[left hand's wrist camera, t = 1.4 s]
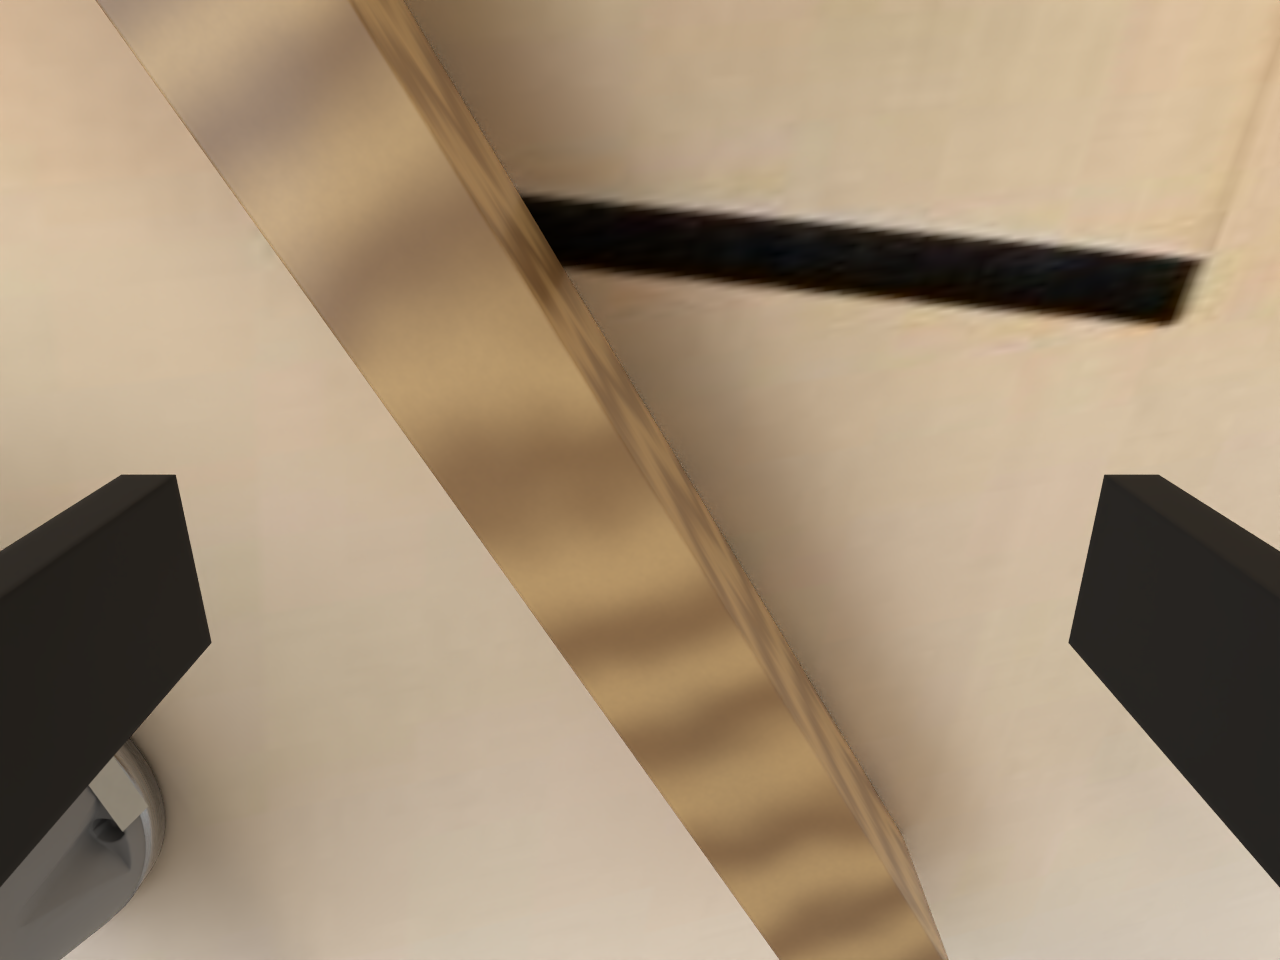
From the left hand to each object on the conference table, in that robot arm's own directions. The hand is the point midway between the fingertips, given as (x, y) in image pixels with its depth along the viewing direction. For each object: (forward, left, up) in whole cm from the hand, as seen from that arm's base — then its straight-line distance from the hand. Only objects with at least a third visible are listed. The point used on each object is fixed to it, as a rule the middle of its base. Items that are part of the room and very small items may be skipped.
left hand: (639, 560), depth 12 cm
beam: (-2, +10, -21) cm, 23 cm away
